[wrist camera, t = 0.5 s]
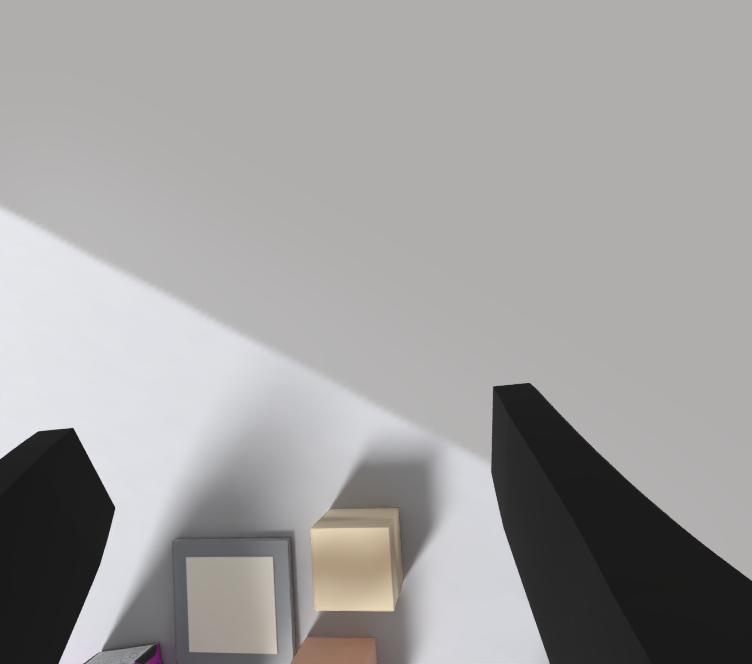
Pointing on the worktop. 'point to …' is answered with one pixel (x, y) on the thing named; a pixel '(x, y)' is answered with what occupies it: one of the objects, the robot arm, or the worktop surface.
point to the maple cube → (357, 560)
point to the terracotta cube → (336, 651)
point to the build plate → (233, 601)
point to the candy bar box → (129, 655)
